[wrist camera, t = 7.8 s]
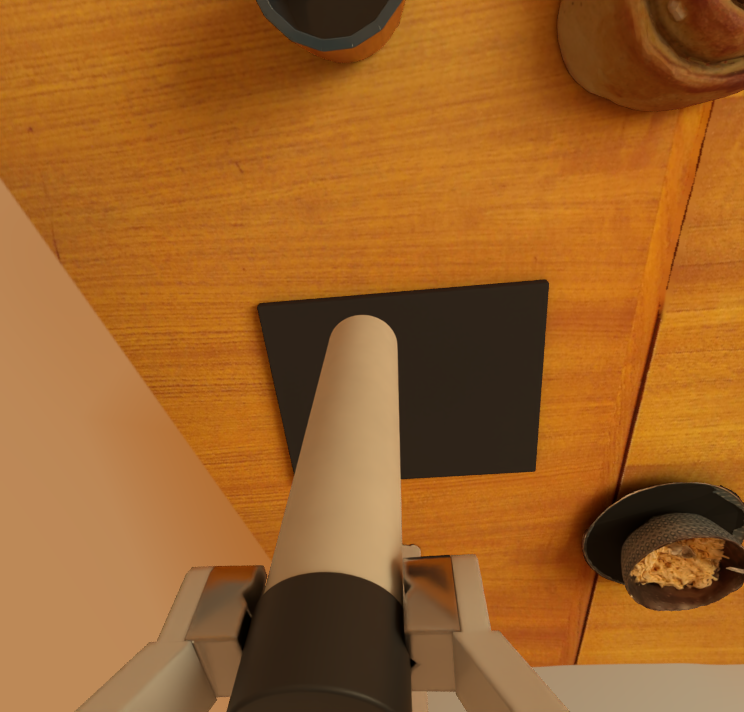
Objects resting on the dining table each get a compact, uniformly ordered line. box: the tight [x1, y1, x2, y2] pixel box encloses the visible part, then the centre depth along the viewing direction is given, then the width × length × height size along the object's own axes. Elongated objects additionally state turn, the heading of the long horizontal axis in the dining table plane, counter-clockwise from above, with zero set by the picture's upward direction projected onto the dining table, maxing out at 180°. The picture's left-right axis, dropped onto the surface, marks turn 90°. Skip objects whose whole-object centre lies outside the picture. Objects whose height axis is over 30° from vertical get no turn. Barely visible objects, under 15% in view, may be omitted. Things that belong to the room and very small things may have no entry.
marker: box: [227, 315, 412, 712], centre depth 14 cm, size 3×3×14 cm
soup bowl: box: [582, 483, 744, 611], centre depth 45 cm, size 15×16×7 cm
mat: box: [257, 280, 549, 479], centre depth 41 cm, size 22×18×1 cm
